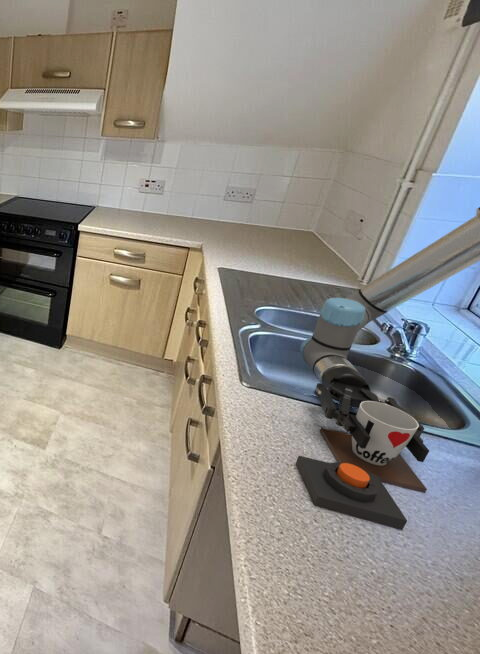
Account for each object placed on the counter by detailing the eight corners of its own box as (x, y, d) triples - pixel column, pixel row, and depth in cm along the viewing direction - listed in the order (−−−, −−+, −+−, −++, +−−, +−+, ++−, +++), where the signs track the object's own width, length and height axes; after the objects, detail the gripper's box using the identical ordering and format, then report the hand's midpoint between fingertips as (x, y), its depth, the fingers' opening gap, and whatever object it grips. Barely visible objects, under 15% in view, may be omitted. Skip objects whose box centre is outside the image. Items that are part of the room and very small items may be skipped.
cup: (341, 455, 81) (359, 414, 78) (343, 434, 87) (360, 395, 83) (398, 479, 76) (420, 436, 73) (396, 455, 82) (417, 414, 78)
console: (372, 483, 77) (380, 467, 75) (402, 530, 68) (412, 512, 66) (295, 463, 81) (301, 447, 79) (314, 505, 72) (321, 488, 70)
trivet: (389, 447, 85) (391, 443, 85) (425, 493, 75) (427, 489, 74) (319, 431, 89) (321, 427, 89) (343, 472, 79) (345, 468, 78)
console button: (359, 474, 74) (363, 466, 73) (370, 491, 70) (374, 484, 70) (332, 467, 75) (335, 460, 75) (342, 484, 72) (345, 476, 71)
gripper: (390, 404, 93) (459, 482, 73) (283, 382, 100) (319, 448, 80) (404, 376, 90) (478, 449, 71) (292, 356, 97) (332, 417, 77)
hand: (393, 449), depth 75 cm, fingers closed on cup, 8 cm apart
